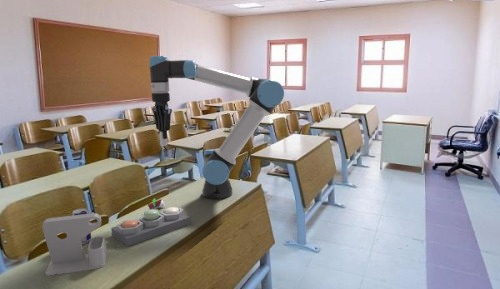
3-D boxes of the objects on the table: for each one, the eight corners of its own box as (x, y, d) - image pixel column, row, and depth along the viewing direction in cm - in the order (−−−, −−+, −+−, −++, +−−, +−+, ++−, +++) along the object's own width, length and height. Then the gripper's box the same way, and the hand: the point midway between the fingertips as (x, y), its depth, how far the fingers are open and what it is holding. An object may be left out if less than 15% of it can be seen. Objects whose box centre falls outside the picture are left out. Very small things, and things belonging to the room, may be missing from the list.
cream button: (174, 211, 151) (173, 206, 150) (181, 215, 147) (181, 209, 146) (162, 215, 147) (161, 209, 146) (169, 219, 143) (169, 213, 142)
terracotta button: (133, 224, 138) (133, 218, 138) (140, 228, 134) (140, 222, 134) (119, 228, 135) (119, 222, 134) (126, 233, 131) (125, 227, 130)
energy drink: (83, 245, 129) (80, 214, 126) (72, 243, 130) (68, 212, 128) (94, 239, 134) (91, 208, 131) (83, 237, 135) (80, 207, 133)
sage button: (154, 213, 144) (154, 208, 144) (161, 217, 140) (161, 211, 140) (141, 217, 140) (141, 212, 140) (148, 222, 136) (148, 216, 136)
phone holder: (108, 252, 123) (102, 203, 120) (105, 267, 114) (99, 214, 110) (52, 260, 119) (44, 209, 115) (44, 277, 109) (36, 221, 106)
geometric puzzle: (142, 211, 154) (152, 197, 153) (147, 205, 161) (156, 191, 160) (156, 220, 155) (166, 206, 154) (160, 214, 162) (170, 201, 160)
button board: (173, 215, 155) (172, 204, 154) (190, 223, 146) (190, 212, 145) (111, 235, 137) (110, 222, 136) (127, 246, 127) (126, 233, 126)
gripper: (145, 92, 158) (149, 145, 163) (160, 93, 149) (164, 149, 153) (160, 91, 163) (163, 142, 168) (176, 92, 154) (179, 146, 158)
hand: (164, 145), depth 161 cm, fingers closed
